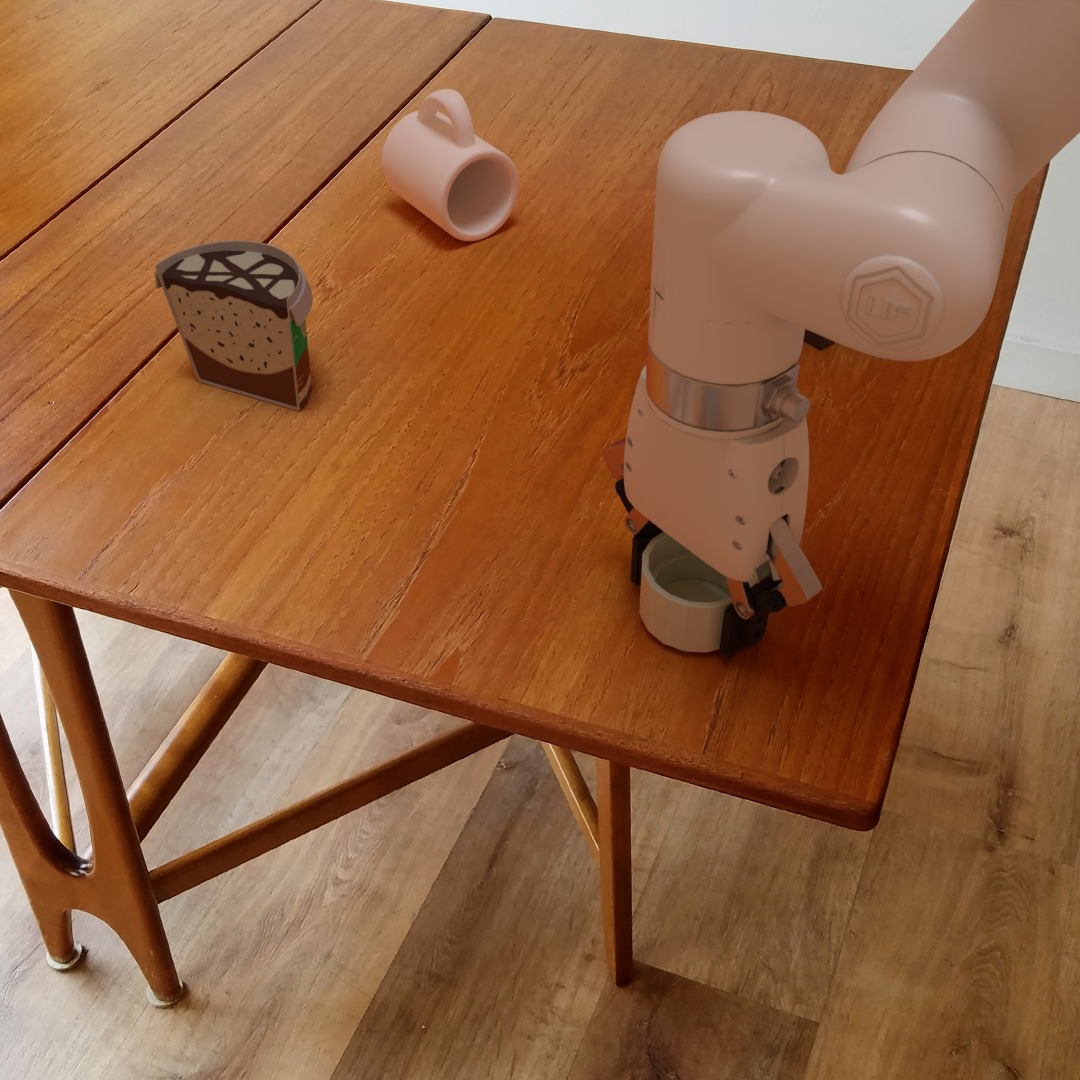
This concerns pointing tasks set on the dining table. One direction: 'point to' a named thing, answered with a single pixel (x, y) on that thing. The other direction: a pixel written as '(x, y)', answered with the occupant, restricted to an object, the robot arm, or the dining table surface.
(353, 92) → the dining table surface
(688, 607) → the bowl
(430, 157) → the mug
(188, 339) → the food container
